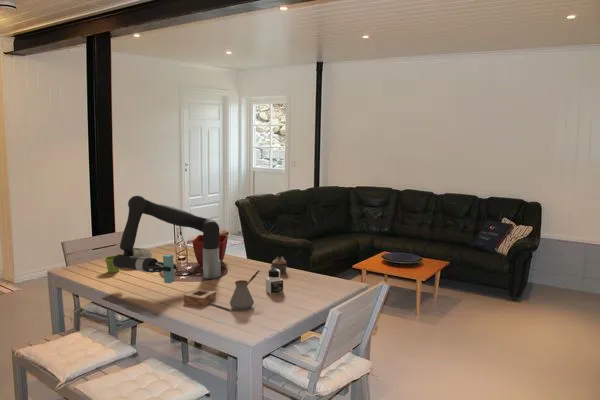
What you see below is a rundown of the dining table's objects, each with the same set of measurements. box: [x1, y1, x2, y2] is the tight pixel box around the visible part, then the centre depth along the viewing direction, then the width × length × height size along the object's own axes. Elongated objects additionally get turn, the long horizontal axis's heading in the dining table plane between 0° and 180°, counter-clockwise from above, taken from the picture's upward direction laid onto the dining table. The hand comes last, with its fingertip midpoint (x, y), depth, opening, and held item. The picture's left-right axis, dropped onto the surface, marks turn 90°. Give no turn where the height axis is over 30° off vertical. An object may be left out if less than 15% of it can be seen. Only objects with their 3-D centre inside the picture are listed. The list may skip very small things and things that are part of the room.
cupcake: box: [270, 256, 288, 276], centre depth 291 cm, size 10×10×10 cm
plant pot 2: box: [192, 234, 229, 268], centre depth 309 cm, size 19×19×17 cm
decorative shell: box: [122, 247, 153, 258], centre depth 309 cm, size 18×18×10 cm
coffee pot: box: [229, 269, 262, 312], centre depth 238 cm, size 21×12×15 cm, turn 151°
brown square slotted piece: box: [183, 288, 217, 307], centre depth 244 cm, size 11×11×4 cm
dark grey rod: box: [208, 302, 230, 312], centre depth 236 cm, size 14×1×1 cm, turn 51°
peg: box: [162, 254, 175, 284], centre depth 249 cm, size 4×4×14 cm
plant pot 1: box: [104, 255, 120, 274], centre depth 292 cm, size 9×9×9 cm
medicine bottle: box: [265, 268, 284, 295], centre depth 258 cm, size 7×7×12 cm
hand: (173, 268), depth 248 cm, fingers closed on peg, 3 cm apart
